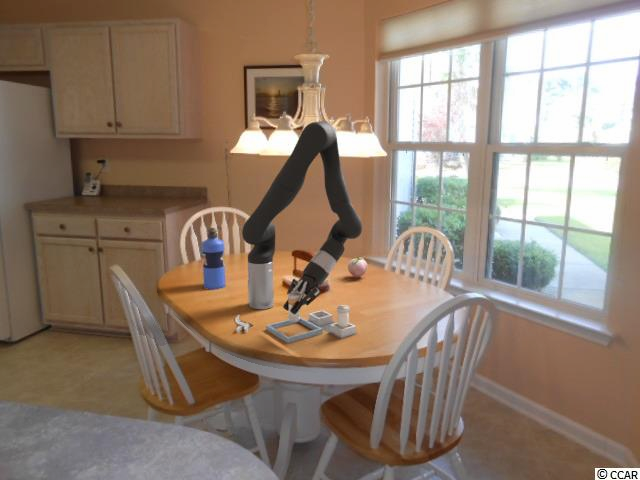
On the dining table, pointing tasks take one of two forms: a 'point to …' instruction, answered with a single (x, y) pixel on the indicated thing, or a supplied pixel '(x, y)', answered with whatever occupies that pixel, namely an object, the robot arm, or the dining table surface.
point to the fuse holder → (331, 324)
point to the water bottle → (213, 261)
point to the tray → (315, 331)
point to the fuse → (343, 316)
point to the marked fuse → (291, 301)
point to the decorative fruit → (357, 267)
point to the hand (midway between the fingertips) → (288, 310)
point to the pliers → (242, 325)
